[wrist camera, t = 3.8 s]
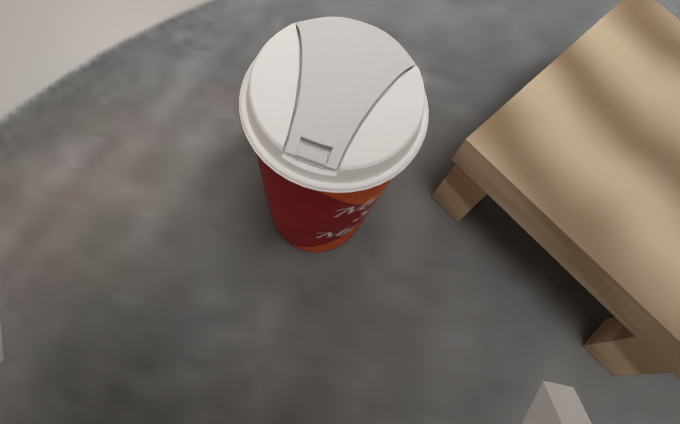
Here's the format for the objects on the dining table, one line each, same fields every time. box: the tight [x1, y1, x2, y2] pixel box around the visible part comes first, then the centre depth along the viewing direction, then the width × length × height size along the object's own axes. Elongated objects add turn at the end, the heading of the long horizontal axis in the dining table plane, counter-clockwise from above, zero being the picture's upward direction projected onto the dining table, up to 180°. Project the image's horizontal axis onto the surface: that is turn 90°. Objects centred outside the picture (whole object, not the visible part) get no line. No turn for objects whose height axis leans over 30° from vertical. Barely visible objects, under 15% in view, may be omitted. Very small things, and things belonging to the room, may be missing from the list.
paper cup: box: [239, 17, 429, 252], centre depth 26 cm, size 8×8×14 cm
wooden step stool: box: [431, 0, 680, 379], centre depth 31 cm, size 16×16×8 cm
